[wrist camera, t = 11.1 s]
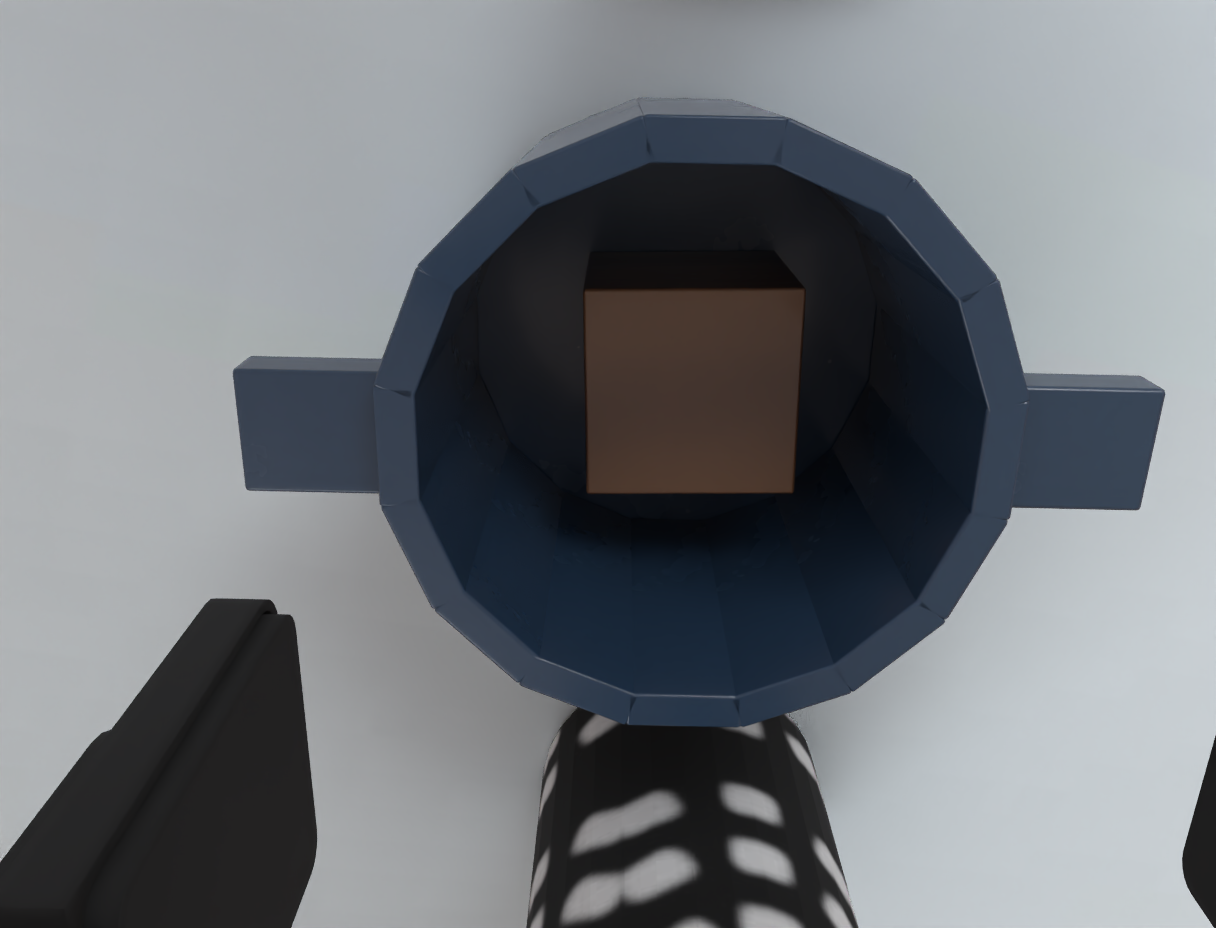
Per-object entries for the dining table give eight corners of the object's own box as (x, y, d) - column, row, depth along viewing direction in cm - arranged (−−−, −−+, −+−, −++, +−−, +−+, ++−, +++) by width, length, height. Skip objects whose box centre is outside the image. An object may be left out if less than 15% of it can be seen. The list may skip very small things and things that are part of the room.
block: (589, 251, 26) (582, 288, 22) (776, 250, 26) (807, 287, 21) (591, 427, 27) (586, 495, 23) (767, 426, 27) (794, 494, 23)
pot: (330, 90, 25) (183, 104, 17) (1038, 105, 25) (1250, 126, 17) (362, 528, 29) (257, 717, 21) (969, 542, 29) (1111, 737, 21)
